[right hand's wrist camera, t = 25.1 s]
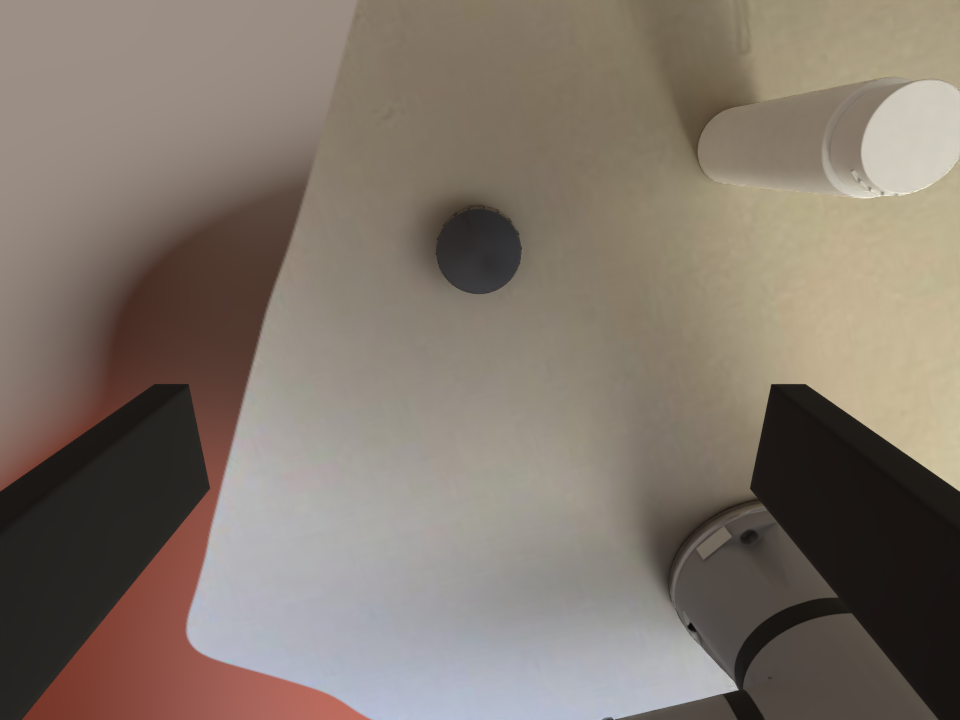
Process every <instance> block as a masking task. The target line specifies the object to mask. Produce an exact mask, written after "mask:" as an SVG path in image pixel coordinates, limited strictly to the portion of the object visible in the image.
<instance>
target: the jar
mask: <svg viewBox="0 0 960 720" xmlns="http://www.w3.org/2000/svg"><path fill="white" fill-rule="evenodd" d="M959 157H960V91H959V90H958V89H957V88H956V87H954V86H953V85H951V84H949V83H947V82H945V81H941V80H936V79H923V80H917V81H911V80H909V79H905V78H900V77H886V78H880V79H875V80H870V81H865V82H860V83H855V84H850V85H844V86H839V87H834V88H829V89H824V90H819V91H814V92H809V93H804V94H799V95H794V96H789V97H784V98H779V99H774V100H769V101H764V102H759V103H753V104H748V105H743V106H738V107H733V108H729V109H726V110H724V111H722V112H720V113H719V114H717V115H716V116H715V117H713V118H712V119H711V120H710V121H709V123H708V124H707V125H706V127H705V128H704V130H703V132H702V134H701V136H700V139H699V143H698V160H699V164H700V166H701V168H702V170H703V172H704V173H705V174H706V175H707V176H708V177H709V178H710V179H712V180H714V181H716V182H718V183H722V184H731V185H740V186H750V187H759V188H768V189H777V190H787V191H796V192H805V193H815V194H824V195H833V196H843V197H852V198H861V199H863V198H874V197H879V196H882V195H884V196H901V195H905V194H909V193H914V192H916V191H919V190H921V189H923V188H926V187H928V186H930V185H931V184H933V183H935V182H936V181H938V180H939V179H940V178H941V177H943V176H944V175H945V174H946V173H947V172H948V171H949V170H950V169H951V168H952V167H953V165H954V164H955V163H956V162H957V160H958V159H959Z"/></svg>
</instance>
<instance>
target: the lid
mask: <svg viewBox="0 0 960 720" xmlns="http://www.w3.org/2000/svg"><path fill="white" fill-rule="evenodd" d="M443 226H444V227H443V229H442V231H441V233H440V235H439V236H438V238H437V240H438V243H437V252H436V255H437V260H438V264H439V267H440V269H441V271H442V273H443V275H444V276H445V277H446V279H447V280H448V281H449V282H450V283H451V284H452V285H454V286H455V287H457V288H458V289H460V290H462V291H465V292H468V293H473V294H484V293H490V292H493V291H495V290H498V289H499V288H501V287H503V286H504V285H505V284H507V283H508V282H509V281H510V280H511V278H512V277H513V276H514V274H515V273H516V271H517V269H518V266H519V264H520V259H521V250H522V247H521V244H520V240H519V236H518V235H519V233H518V231H517V230H515V228H514V226H513V224H512V223H511V220H510V218H507V217H506V216H505V215H504V214H502V213H501V212H499V210H498V209H497V210H495V209H493V208H490V207H486V206H485V205H483V206H472V207H470V206H468V208H465V209H463V210H460V211H459V212H455V213H454V215H453V216H452V217H451V218H450V219H449V220H448V221H447V222H445V223H444V225H443Z"/></svg>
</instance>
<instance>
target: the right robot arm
mask: <svg viewBox="0 0 960 720" xmlns="http://www.w3.org/2000/svg"><path fill="white" fill-rule="evenodd" d="M209 489H210V486H209V481H208V476H207V471H206V467H205V462H204V457H203V452H202V447H201V442H200V438H199V433H198V428H197V423H196V418H195V413H194V408H193V403H192V399H191V394H190V389H189V385H188V384H154V385H153V386H151V387H150V388H148V389H147V390H146V391H144V392H143V393H141V394H140V395H138V396H137V397H136V398H134V399H133V400H131V401H130V402H128V403H127V404H125V405H124V406H123V407H121V408H120V409H118V410H117V411H115V412H114V413H113V414H111V415H110V416H108V417H107V418H105V419H104V420H102V421H101V422H100V423H98V424H97V425H95V426H94V427H93V428H91V429H90V430H88V431H87V432H85V433H84V434H82V435H81V436H79V437H78V438H77V439H75V440H74V441H72V442H71V443H69V444H68V445H67V446H65V447H64V448H62V449H61V450H59V451H58V452H56V453H55V454H54V455H52V456H51V457H49V458H48V459H46V460H45V461H44V462H42V463H41V464H39V465H38V466H36V467H35V468H34V469H32V470H31V471H29V472H28V473H26V474H25V475H23V476H22V477H21V478H19V479H18V480H16V481H15V482H13V483H12V484H11V485H9V486H8V487H6V488H5V489H3V490H2V491H1V492H0V720H22V719H23V717H24V716H25V715H26V714H27V712H28V711H29V710H30V709H31V708H32V706H33V705H34V704H35V703H36V701H37V700H38V699H39V698H40V697H41V695H42V694H43V693H44V692H45V690H46V689H47V688H48V687H49V685H50V684H51V683H52V682H53V681H54V679H55V678H56V677H57V676H58V674H59V673H60V672H61V671H62V670H63V668H64V667H65V666H66V665H67V663H68V662H69V661H70V660H71V659H72V657H73V656H74V655H75V654H76V652H77V651H78V650H79V649H80V647H81V646H82V645H83V644H84V642H85V641H86V640H87V639H88V638H89V636H90V635H91V634H92V633H93V631H94V630H95V629H96V628H97V627H98V625H99V624H100V623H101V622H102V620H103V619H104V618H105V617H106V616H107V614H108V613H109V612H110V611H111V609H112V608H113V607H114V606H115V605H116V603H117V602H118V601H119V600H120V598H121V597H122V596H123V595H124V594H125V592H126V591H127V590H128V589H129V587H130V586H131V585H132V584H133V582H134V581H135V580H136V579H137V578H138V576H139V575H140V574H141V573H142V571H143V570H144V569H145V568H146V567H147V565H148V564H149V563H150V562H151V560H152V559H153V558H154V557H155V555H156V554H157V553H158V552H159V551H160V549H161V548H162V547H163V546H164V544H165V543H166V542H167V541H168V540H169V538H170V537H171V536H172V535H173V533H174V532H175V531H176V530H177V528H178V527H179V526H180V525H181V524H182V522H183V521H184V520H185V519H186V517H187V516H188V515H189V514H190V513H191V511H192V510H193V509H194V508H195V506H196V505H197V504H198V503H199V502H200V500H201V499H202V498H203V497H204V495H205V494H206V493H207V492H208V491H209ZM750 489H751V491H752V492H753V493H754V494H755V495H756V497H757V498H758V499H759V500H758V501H753V502H748V503H745V504H741V505H738V506H735V507H732V508H730V509H728V510H725V511H723V512H721V513H719V514H718V515H716V516H714V517H712V518H711V519H709V520H708V521H706V522H705V523H704V524H702V525H701V526H700V527H699V528H697V529H696V530H695V531H694V532H693V533H692V534H691V535H690V536H689V537H688V539H687V540H686V541H685V542H684V544H683V545H682V546H681V548H680V550H679V551H678V553H677V555H676V557H675V559H674V562H673V564H672V567H671V572H670V578H669V589H670V595H671V599H672V602H673V604H674V606H675V609H676V611H677V613H678V616H679V618H680V620H681V621H682V623H683V625H684V626H685V628H686V629H687V631H688V632H689V634H690V635H691V636H692V637H693V638H694V639H695V641H696V642H697V643H698V644H699V645H701V646H702V648H703V649H704V650H705V651H706V652H707V653H708V654H709V656H710V657H711V658H712V659H713V660H714V661H715V662H716V663H717V664H718V665H719V666H720V667H721V668H722V669H723V670H724V671H725V672H726V674H727V675H728V676H729V677H730V678H731V679H732V680H733V681H734V682H735V684H736V686H737V687H738V689H739V690H737V691H733V692H729V693H725V694H720V695H716V696H712V697H708V698H704V699H701V700H696V701H692V702H688V703H684V704H679V705H675V706H671V707H667V708H662V709H658V710H654V711H649V712H645V713H641V714H637V715H632V716H628V717H624V718H620V719H615V720H960V491H958V490H957V489H955V488H954V487H952V486H951V485H949V484H948V483H947V482H945V481H944V480H942V479H941V478H939V477H938V476H937V475H935V474H934V473H932V472H931V471H929V470H928V469H926V468H925V467H924V466H922V465H921V464H919V463H918V462H916V461H915V460H914V459H912V458H911V457H909V456H908V455H906V454H905V453H904V452H902V451H901V450H899V449H898V448H896V447H895V446H893V445H892V444H891V443H889V442H888V441H886V440H885V439H883V438H882V437H881V436H879V435H878V434H876V433H875V432H873V431H872V430H870V429H869V428H868V427H866V426H865V425H863V424H862V423H860V422H859V421H858V420H856V419H855V418H853V417H852V416H850V415H849V414H848V413H846V412H845V411H843V410H842V409H840V408H839V407H837V406H836V405H835V404H833V403H832V402H830V401H829V400H827V399H826V398H825V397H823V396H822V395H820V394H819V393H817V392H816V391H814V390H813V389H812V388H810V387H809V386H807V385H806V384H771V389H770V394H769V399H768V403H767V408H766V413H765V418H764V423H763V428H762V433H761V437H760V442H759V447H758V452H757V457H756V462H755V467H754V471H753V476H752V481H751V486H750ZM603 720H613V719H612V717H608V718H604V719H603Z"/></svg>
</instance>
